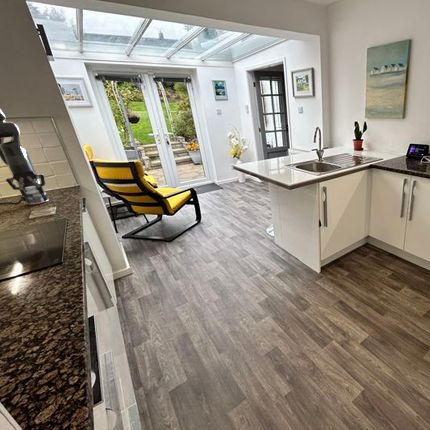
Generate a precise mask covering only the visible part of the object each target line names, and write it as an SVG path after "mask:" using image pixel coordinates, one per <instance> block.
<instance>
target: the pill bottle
mask: <svg viewBox="0 0 430 430" xmlns="http://www.w3.org/2000/svg"><path fill="white" fill-rule="evenodd" d="M25 189H26V191H27V192H26V195H27V197H28V200H29V202H30V204H36V205H40V204H39V203H41V204H43V203H42V202H44V200H43V198H42V195H41V194H40V192H39V190H36V186H30V187H26V188H25Z"/></svg>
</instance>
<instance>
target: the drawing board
mask: <svg viewBox="0 0 430 430" xmlns="http://www.w3.org/2000/svg"><path fill="white" fill-rule="evenodd" d="M56 213H57V206H51V207H46V208H40V209H34V210H31V212H30V215H29V216H28V220H30V221H31V220H34V219H40V218H44V217H50V216H54V215H55V216H56Z"/></svg>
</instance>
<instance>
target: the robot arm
mask: <svg viewBox="0 0 430 430" xmlns="http://www.w3.org/2000/svg"><path fill="white" fill-rule="evenodd" d="M6 118H7V117H6V115H5V113H4V111H2V109H1V108H0V159H1V161H2V162H3V163H4V164H5V165H6V166H8V168H9V170H10V172H11V174H12V177H8V178H6V179H5V182H7V183H8V184H9V186H10V187H11V189H12V190H14V191H19V192H20V194H21V196H20V199H19V200H18V201H17V202H12V201H11V202H10V201H7V202H5V201H4V202H0V205H6V204H9V205H18V204H21V203H22V202H26V204H27V205H28V206H34V205H37V204H30V202H29V200H28V197H27V195H26V192H27V191H26V189H25V188H26V187H30V186H36V190H39V192H40V194H41V195H42V198H43V200H44V202H42V203H39V204H38V205H41V204H45V203H48V202H49V201H50V199H49V198H48V196H47V192H46V191H45V189H44V186H46V180H45V174H43V173H41V174H40V173H37V172H36V169H35V166H34V165H33V162H32V160H31V159H32V158H31V156H30V154H29V152H28V151H27V150H26V149H25V148H23V146H22V143H21V138H20V137H21V136H20V134H21V133H20V128H19V126H18V125H17V124H16V123H15V122H12V121H6ZM5 138H11V139H10V140H9V141H6V142H5ZM14 181H16V183H17V185H18V186H17V185H16V184H15V183H14Z"/></svg>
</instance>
